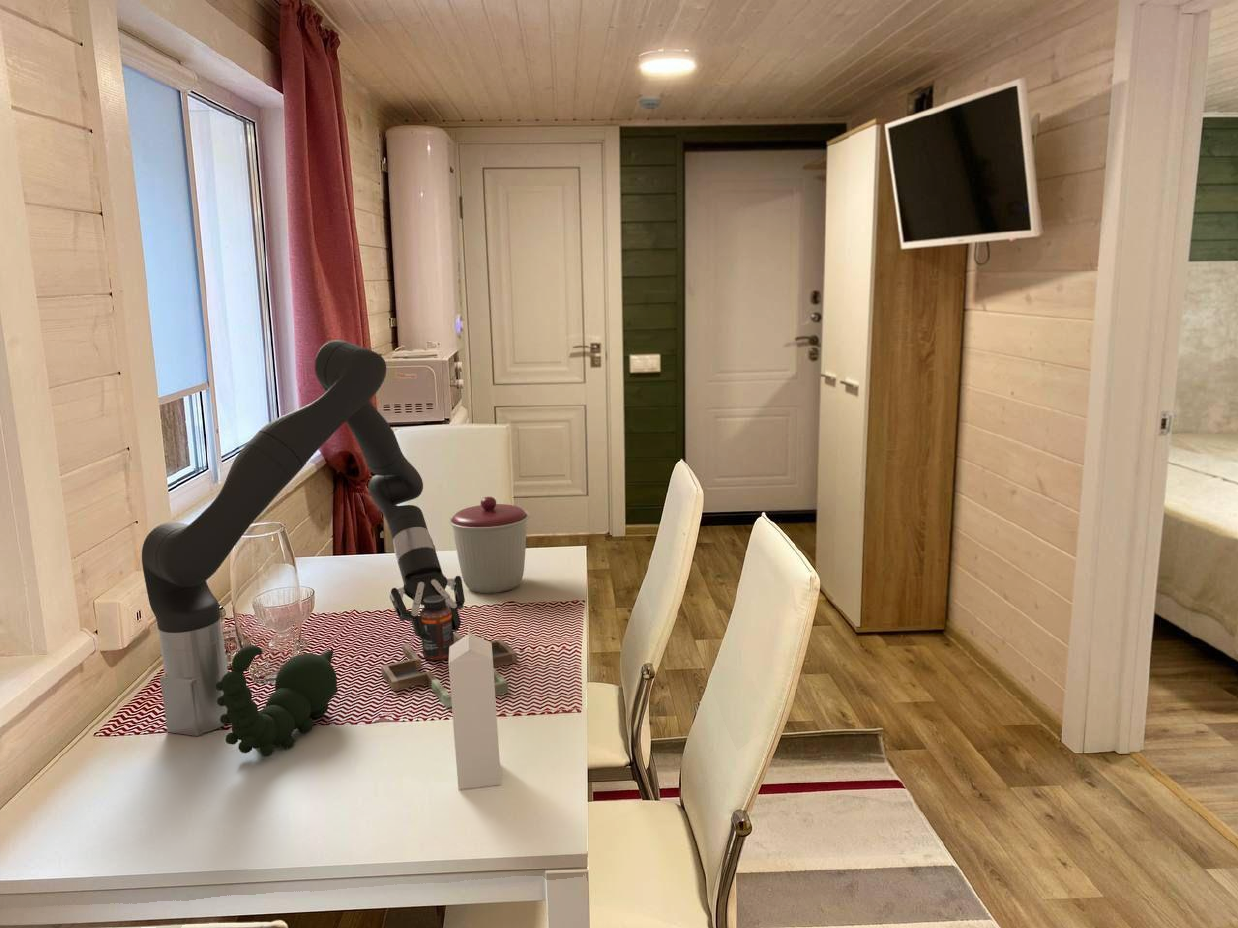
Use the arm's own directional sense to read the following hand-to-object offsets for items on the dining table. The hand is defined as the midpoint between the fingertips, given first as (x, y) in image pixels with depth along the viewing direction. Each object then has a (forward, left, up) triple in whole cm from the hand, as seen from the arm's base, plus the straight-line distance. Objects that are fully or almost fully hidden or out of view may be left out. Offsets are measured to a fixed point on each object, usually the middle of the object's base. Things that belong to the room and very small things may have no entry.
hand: (439, 632), depth 174 cm
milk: (-36, -26, -5) cm, 45 cm away
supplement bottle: (+1, +1, -5) cm, 6 cm away
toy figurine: (-32, +9, -5) cm, 34 cm away
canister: (+40, +8, -5) cm, 41 cm away
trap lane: (-5, -5, -5) cm, 9 cm away
